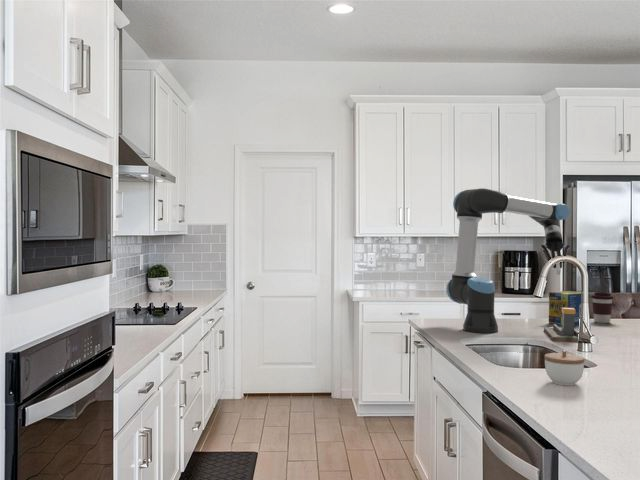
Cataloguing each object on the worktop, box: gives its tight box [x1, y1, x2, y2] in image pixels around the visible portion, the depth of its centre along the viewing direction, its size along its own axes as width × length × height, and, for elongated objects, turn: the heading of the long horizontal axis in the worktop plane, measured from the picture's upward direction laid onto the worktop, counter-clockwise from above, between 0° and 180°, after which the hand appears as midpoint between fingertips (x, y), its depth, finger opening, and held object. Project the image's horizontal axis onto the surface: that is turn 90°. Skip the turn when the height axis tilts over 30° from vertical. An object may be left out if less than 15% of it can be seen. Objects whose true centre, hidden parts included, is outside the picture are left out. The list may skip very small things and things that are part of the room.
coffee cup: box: [590, 291, 614, 324], centre depth 289 cm, size 10×10×15 cm
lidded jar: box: [544, 350, 585, 387], centre depth 168 cm, size 11×11×9 cm
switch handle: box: [561, 308, 575, 336], centre depth 241 cm, size 5×5×11 cm
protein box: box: [548, 290, 581, 326], centre depth 283 cm, size 10×15×16 cm
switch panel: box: [543, 324, 579, 343], centre depth 247 cm, size 14×26×4 cm, turn 166°
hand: (558, 272), depth 267 cm, fingers closed
